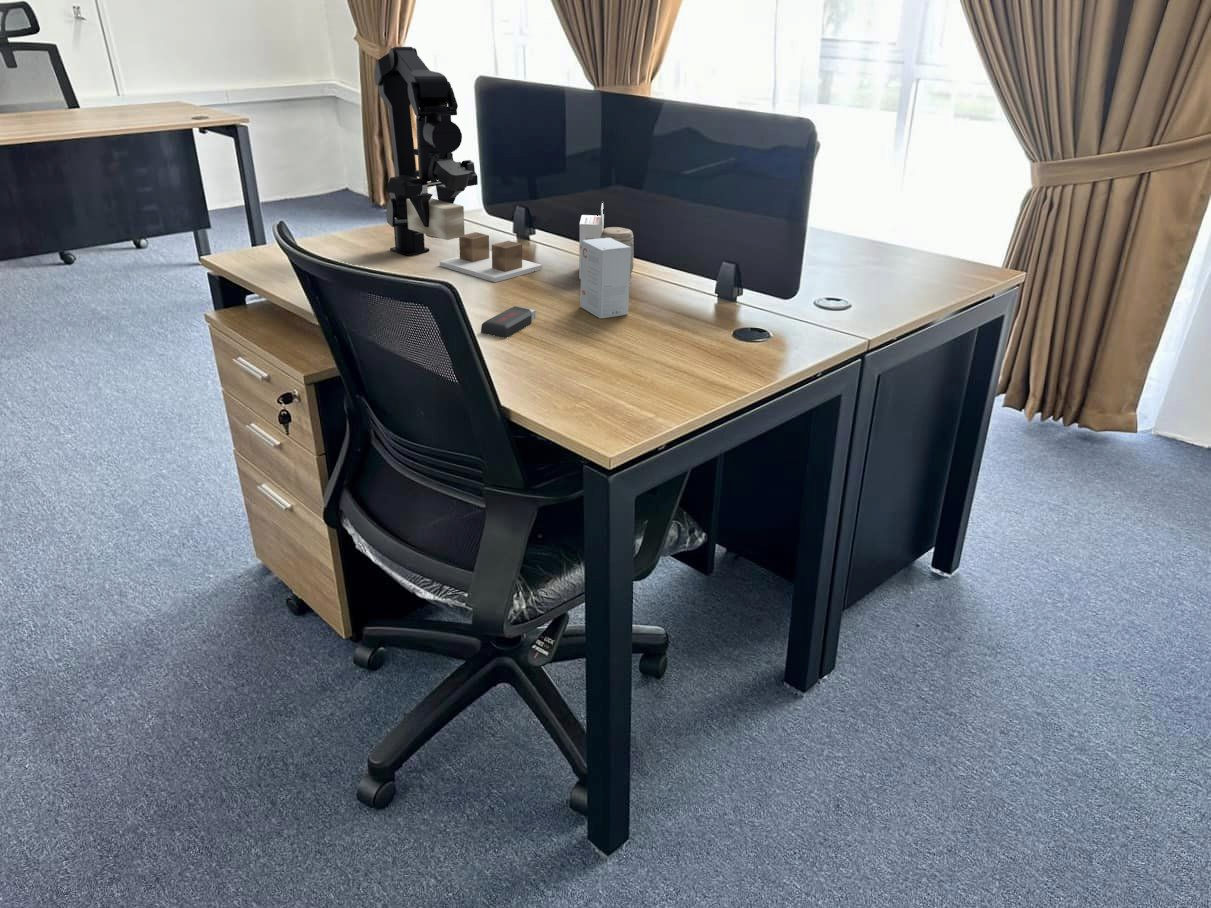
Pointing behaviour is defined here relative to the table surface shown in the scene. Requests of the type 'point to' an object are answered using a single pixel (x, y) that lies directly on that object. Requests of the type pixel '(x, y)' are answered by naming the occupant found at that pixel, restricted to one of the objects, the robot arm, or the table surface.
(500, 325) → the usb drive
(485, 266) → the grey base board
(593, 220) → the ink cartridge box
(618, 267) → the small box
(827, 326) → the table surface
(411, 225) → the maple beam block
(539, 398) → the table surface
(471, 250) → the walnut posts
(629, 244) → the carving
